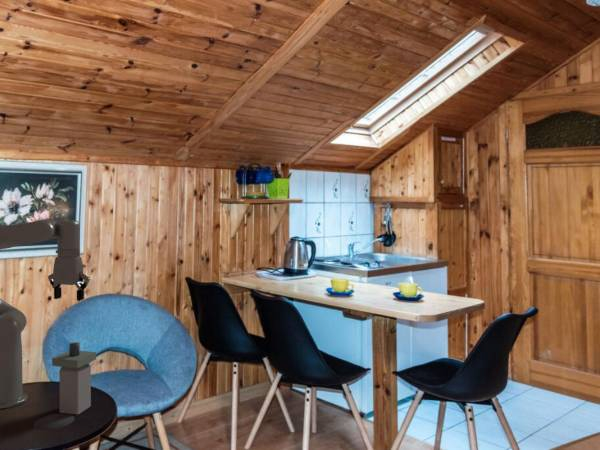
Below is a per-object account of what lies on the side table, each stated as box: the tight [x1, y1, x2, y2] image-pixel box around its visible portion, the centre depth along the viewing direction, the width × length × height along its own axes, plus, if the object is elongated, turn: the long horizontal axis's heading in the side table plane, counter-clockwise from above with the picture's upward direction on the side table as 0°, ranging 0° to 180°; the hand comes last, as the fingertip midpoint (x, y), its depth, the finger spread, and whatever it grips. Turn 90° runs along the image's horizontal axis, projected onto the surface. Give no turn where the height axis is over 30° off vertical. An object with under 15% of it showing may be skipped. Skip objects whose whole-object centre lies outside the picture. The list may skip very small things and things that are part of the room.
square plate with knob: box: [51, 341, 97, 368], centre depth 167 cm, size 10×10×7 cm
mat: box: [33, 412, 75, 431], centre depth 159 cm, size 12×12×1 cm
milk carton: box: [58, 363, 92, 415], centre depth 168 cm, size 7×7×19 cm
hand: (68, 299), depth 180 cm, fingers open, 9 cm apart
